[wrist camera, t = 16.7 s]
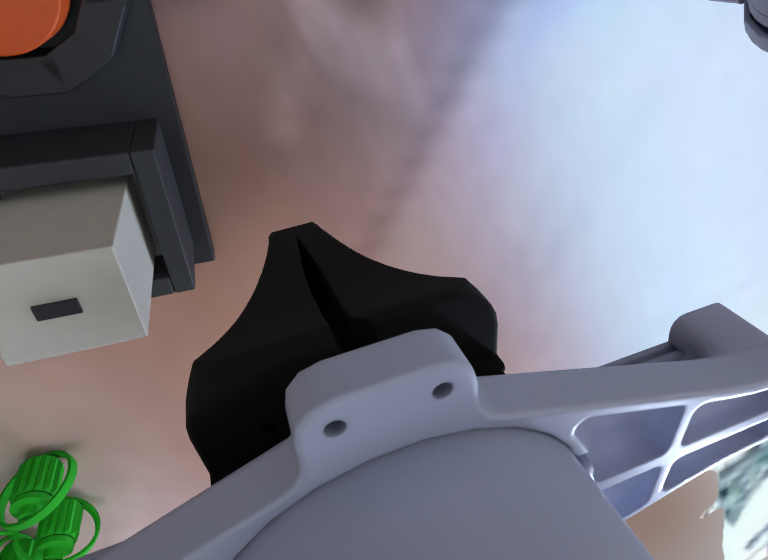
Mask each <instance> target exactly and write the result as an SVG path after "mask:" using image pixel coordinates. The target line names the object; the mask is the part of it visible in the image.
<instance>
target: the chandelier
mask: <svg viewBox="0 0 768 560" xmlns="http://www.w3.org/2000/svg"><path fill="white" fill-rule="evenodd" d="M60 457H64V458H67V460H68V470H67V474H66V477H65V479H64V481H63V483H62V485H61V482H62V478H63V473H64V467H63V463H62V462H61V461H60V459H58V458H60ZM39 467H40V468H39ZM38 471H39V472H38ZM76 473H77V463H76V460H75V459H74V458H73V457H72V456H71V455H69V454H68V453H67V452H65V451H61V450H56V451H51V452H48V453H45V454H43V455H38V456H34V457H31V458H29V459H27V460H25V461H24V462H23V463H22V464H21V465H20V467H19V470H18V472H17V474H16V475H15V476H14V477H13V478H12V479H11V480H10V481H9V483H8V484H7V485H6V487H5V488H4V489H3V491H2V493H1V494H0V527H2V528H4V529H6V530H5V531H0V535H9V536H7V537H5V538H3V539H1V540H0V547H1V546H2V544H3V543H4V542H6V541H7V540H13V541H12V542H10V543H9V544H7V545H6V546H5V547H4V549H3V550H2V551H1V553H0V560H74V559H77V558H79V557H82V556H84V555H85V554H86V553H87V552H88V551H89V550H90V549H91V548H92V547H93V545H94V543H95V542H96V539H97V537H98V534H99V530H100V517H99V514H98V512H97V510H96V509H95V508H94V507H93V506H92V505H91V504H90V503H88V502H87V501H85V500H83V499H80V498H76V497H65V496H66V495H67V493H68V492H69V490H70V488H71V486H72V484H73V482H74V480H75V477H76ZM8 500H10V504H11V506H10V513H11V515H12V516H14V517H16V518H17V520H18V521H19V522H17V523H14V524H6V522H5V519H4V513H5V508H6V505H7V503H8ZM59 509H60V510H59ZM83 509H85V510H86V511H88V512H89V513H90V514H91V516H92V517H93V519H94V522H95V535H94V537H93V538H92V540H91V541H90V543H89V544H88V545H87V546H86V547H85V548H84V549H83V550H81V551H80V552H78V553H77V554H75V555H73V556H71V557H68V558H66V559H62V558H64V557H66V556H68V555H69V554H70V553H71V552H72V551H73V547H74V545H75V543H76V541H77V538H78V536H79V531H80V525H81V519H82V514H83ZM58 514H59V515H58ZM38 522H39V525H38V529H37V533H36V537H35V539H33V538H32V537H30V536H28V535H26V534H21V533H19V531H21V530H24V529H27V528H29V527H31V526H33V525H35V524H36V523H38ZM24 549H25V550H24Z"/></svg>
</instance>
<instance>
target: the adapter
mask: <svg viewBox="0 0 768 560" xmlns="http://www.w3.org/2000/svg"><path fill="white" fill-rule="evenodd" d="M154 118H157V119H158V120H159V123H160V127H161V130H162V134H163V138H164V141H165V145H166V148H167V152H168V155H169V159H170V162H171V166H172V169H173V173H174V176H175V180H176V183H177V187H178V191H179V194H180V198H181V201H182V205H183V208H184V212H185V215H186V219H187V222H188V226H189V229H190V233H191V236H192V240H193V244H194V264H197V263H202V262H208V261H213V260H215V255H214V247H213V243H212V239H211V235H210V231H209V228H208V224H207V220H206V216H205V212H204V208H203V204H202V200H201V196H200V193H199V189H198V185H197V181H196V177H195V173H194V169H193V165H192V161H191V158H190V154H189V150H188V146H187V142H186V138H185V134H184V130H183V126H182V123H181V119H180V115H179V111H178V107H177V103H176V99H175V95H174V91H173V88H172V84H171V80H170V76H169V72H168V68H167V64H166V60H165V56H164V53H163V49H162V45H161V41H160V37H159V33H158V29H157V25H156V21H155V18H154V14H153V10H152V6H151V2H150V0H71V4H70V10H69V13H68V17H67V19H66V21H65V23H64V25H63V26H62V28H61V29H60V30H59V31H58V32H57V33H56V34H55V35H54V36H53V37H52V38H50V39H49V40H47V41H46V42H45V43H43V44H42V45H40V46H39V47H37V48H36V49H34V50H32V51H30V52H27V53H24V54H20V55H15V56H0V135H9V134H18V133H27V132H36V131H45V130H54V129H63V128H72V127H81V126H90V125H99V124H108V123H117V122H127V121H136V122H137V121H138V120H145V119H154Z"/></svg>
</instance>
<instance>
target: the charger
mask: <svg viewBox="0 0 768 560" xmlns="http://www.w3.org/2000/svg"><path fill="white" fill-rule="evenodd" d="M155 247H156V246H155V243H154V240H153V237H152V234H151V231H150V228H149V225H148V222H147V219H146V216H145V213H144V210H143V207H142V204H141V202H140V199H139V196H138V193H137V190H136V187H135V184H134V181H133V178H132V175H123V176H116V177H109V178H101V179H94V180H87V181H79V182H72V183H65V184H57V185H50V186H42V187H35V188H28V189H20V190H13V191H6V193H5V194H4V195H3V197H2V198H1V200H0V357H1V358H2V360H3V361H4V363H5V364H6V366H12V365H16V364H21V363H26V362H30V361H35V360H39V359H44V358H49V357H53V356H58V355H63V354H67V353H72V352H77V351H81V350H86V349H91V348H95V347H100V346H105V345H109V344H114V343H119V342H123V341H128V340H132V339H137V338H142V337H146V336H148V326H149V315H150V303H151V292H152V281H153V269H154V258H155Z"/></svg>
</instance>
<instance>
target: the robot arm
mask: <svg viewBox="0 0 768 560" xmlns="http://www.w3.org/2000/svg"><path fill="white" fill-rule="evenodd" d="M709 1H719V2H728V3H737V4H743V3H744V25H745V30H746V33H747V34H748V36H749V37H750V39H751V41H752V42H753V43H754V44H755V45H757V46H758V47H759V48H760V49H761V50H764V51H766V52H768V0H709ZM497 327H498V324H497V316H496V312H495V311H494V309H493V307H492V305H491V304H490V303H489V301H488V300H487V299H486V298H485V297H484V296H483V295H482V294H481V293H480V291H479V290H478V289H477V288H475V287H474V286H473V285H472V284H471V283H470V282H469V281H468V280H467V279H466V278H457V277H439V276H431V275H424V274H418V273H413V272H408V271H405V270H401V269H397V268H393V267H390V266H387V265H384V264H382V263H379V262H377V261H374V260H372V259H369V258H367V257H365V256H363V255H361V254H359V253H357V252H355V251H354V250H352V249H350V248H349V247H347V246H346V245H344V244H342V243H341V242H339V241H338V240H336V239H335V238H334V237H332V236H331V235H329V234H328V233H327V232H325V231H324V230H323V229H322V228H320V227H319V226H318V225H317V224H315V223H313V222H310V223H306V224H302V225H298V226H295V227H291V228H287V229H283V230H280V231H276V232H272V233H271V234H270V236H269V246H268V252H267V257H266V260H265V264H264V268H263V271H262V274H261V276H260V279H259V281H258V284H257V286H256V289H255V291H254V293H253V295H252V297H251V299H250V300H249V302H248V304H247V306H246V307H245V309H244V310H243V312H242V313H241V315H240V316H239V318H238V319H237V321H236V322H235V323H234V324H233V325H232V327H231V328H230V329H229V330H228V331H227V332H226V333H225V334H224V335H223V336H222V337H221V338H220V339H219V340H218V341H217V342H216V343H215V344H214V345H213V346H212V347H210V348H209V349H208V350H207V351H206V352H205V353H203V354H202V355H201V356H200V357H199V358H197V359H196V360H195V361H194V362H193V365H192V369H191V373H190V378H189V383H188V388H187V396H186V429H187V432H188V435H189V438H190V440H191V442H192V444H193V446H194V447H195V449H196V451H197V452H198V454H199V456H200V458H201V459H202V461H203V463H204V465H205V466H206V468H207V470H208V472H209V473H210V479H211V487H209V488H207V489H206V490H204V491H203V492H201V493H199V494H198V495H196V496H195V497H193V498H192V499H190V500H188V501H187V502H185V503H184V504H182V505H180V506H179V507H177V508H176V509H174V510H172V511H171V512H169V513H168V514H166V515H164V516H163V517H161V518H160V519H158V520H157V521H155V522H153V523H152V524H150V525H149V526H147V527H145V528H144V529H142V530H141V531H139V532H137V533H136V534H134V535H133V536H131V537H129V538H128V539H126V540H125V541H123V542H120V543H117V544H115V545H112V546H109V547H107V548H104V549H101V550H98V551H96V552H93V553H90V554H87V555H85V556H82V557H79V558H77V559H74V560H654V558H653V557H652V556H651V555H650V553H649V552H648V551H647V549H646V548H645V547H644V545H643V544H642V543H641V541H640V540H639V539H638V538H637V536H636V535H635V534H634V532H633V531H632V530H631V528H630V527H629V526H628V524H627V523H626V522H625V520H626V519H628V518H630V517H631V516H633V515H634V514H636V513H638V512H639V511H641V510H643V509H644V508H646V507H647V506H649V505H651V504H652V503H654V502H656V501H657V500H659V499H660V498H662V497H664V496H665V495H667V494H669V493H670V492H672V491H673V490H675V489H677V488H678V487H680V486H682V485H683V484H685V483H686V482H688V481H690V480H692V479H693V478H695V477H697V476H698V475H700V474H702V473H703V472H705V471H707V470H709V469H710V468H712V467H714V466H716V465H718V464H719V463H721V462H723V461H725V460H727V459H729V458H731V457H733V456H735V455H736V454H738V453H740V452H742V451H745V450H747V449H749V448H751V447H753V446H755V445H757V444H759V443H762V442H764V441H766V440H768V335H766V334H765V333H764V332H762V331H761V330H759V329H758V328H756V327H755V326H753V325H752V324H750V323H749V322H747V321H746V320H744V319H743V318H741V317H740V316H738V315H737V314H735V313H734V312H732V311H731V310H729V309H728V308H726V307H725V306H723V305H722V304H720V303H714V304H711V305H708V306H705V307H703V308H700V309H697V310H694V311H691V312H689V313H686V314H684V315H682V316H680V317H679V318H678V319H677V320H676V321H675V322H674V323H673V325H672V327H671V329H670V333H669V339H668V342H665V343H662V344H660V345H657V346H654V347H651V348H649V349H646V350H643V351H641V352H638V353H635V354H632V355H630V356H627V357H624V358H621V359H619V360H616V361H613V362H611V363H608V364H605V365H602V366H600V367H595V368H582V369H569V370H556V371H543V372H530V373H517V374H505V373H504V372H503V371H505V366H504V363H503V362H502V360H501V359H500V358H499V357H498V355H497Z"/></svg>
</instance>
